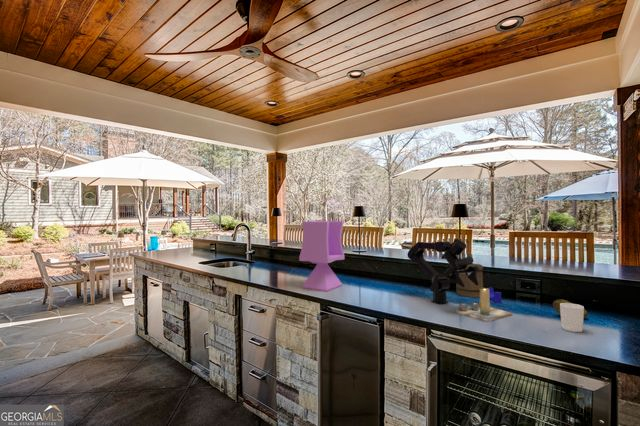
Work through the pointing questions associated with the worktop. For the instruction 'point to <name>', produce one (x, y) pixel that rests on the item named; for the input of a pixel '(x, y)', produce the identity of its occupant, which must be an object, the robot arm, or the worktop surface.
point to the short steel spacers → (474, 306)
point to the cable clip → (494, 296)
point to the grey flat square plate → (484, 315)
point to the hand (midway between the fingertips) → (471, 286)
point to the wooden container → (470, 283)
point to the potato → (557, 302)
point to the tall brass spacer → (484, 302)
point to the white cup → (572, 316)
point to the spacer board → (492, 310)
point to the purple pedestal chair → (322, 253)
